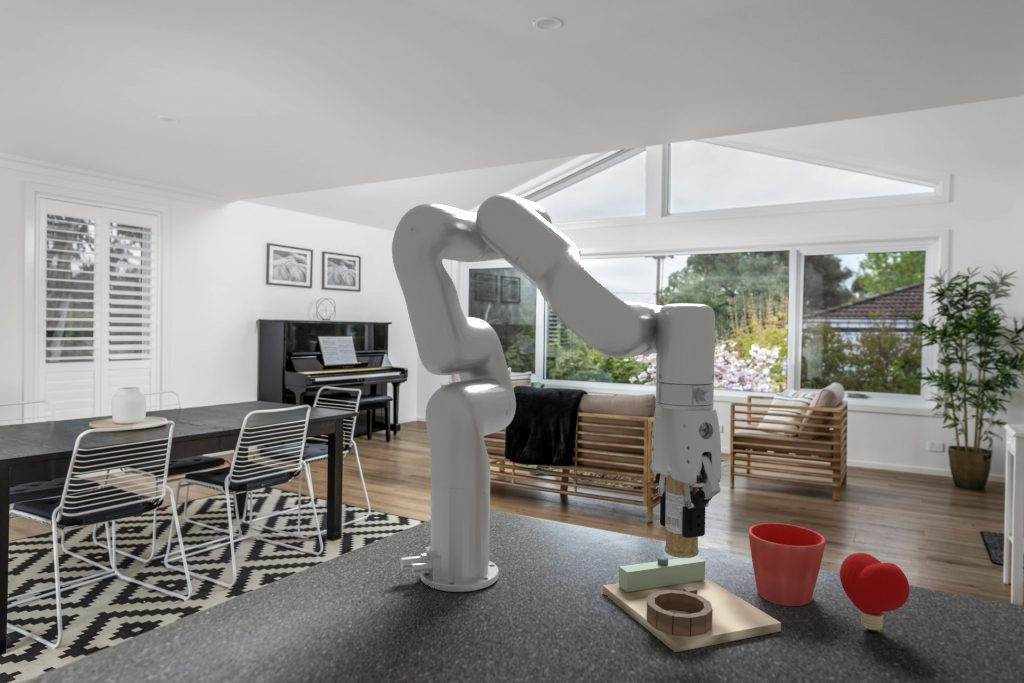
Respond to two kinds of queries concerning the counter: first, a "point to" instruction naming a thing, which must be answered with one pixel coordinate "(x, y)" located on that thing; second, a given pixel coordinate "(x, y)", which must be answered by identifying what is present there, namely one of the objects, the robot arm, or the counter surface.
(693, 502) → the robot arm
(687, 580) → the bar
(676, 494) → the sprinkles bottle
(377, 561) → the counter surface
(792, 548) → the flower pot
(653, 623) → the board
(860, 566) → the red heart figurine
